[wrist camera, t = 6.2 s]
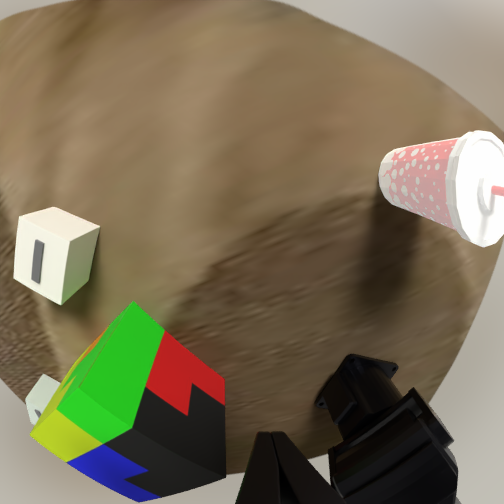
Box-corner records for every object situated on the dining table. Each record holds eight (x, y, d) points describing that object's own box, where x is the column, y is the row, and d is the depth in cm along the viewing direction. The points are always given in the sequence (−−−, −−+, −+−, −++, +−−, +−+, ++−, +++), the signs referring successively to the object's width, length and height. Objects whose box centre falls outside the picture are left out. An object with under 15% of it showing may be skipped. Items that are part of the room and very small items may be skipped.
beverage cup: (381, 228, 20) (534, 304, 6) (359, 149, 18) (533, 138, 4) (437, 203, 19) (578, 247, 6) (419, 131, 18) (572, 125, 4)
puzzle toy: (155, 422, 23) (138, 502, 14) (75, 361, 21) (29, 434, 11) (224, 378, 22) (226, 477, 13) (133, 300, 20) (78, 387, 10)
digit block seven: (78, 391, 22) (62, 422, 17) (79, 415, 23) (65, 443, 18) (43, 373, 21) (24, 400, 17) (46, 398, 22) (30, 423, 18)
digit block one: (100, 226, 18) (68, 242, 14) (88, 280, 19) (59, 306, 14) (54, 206, 17) (17, 217, 13) (45, 259, 18) (12, 279, 14)
